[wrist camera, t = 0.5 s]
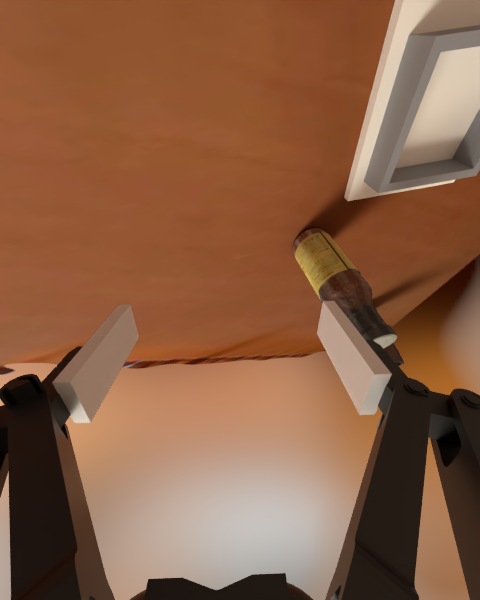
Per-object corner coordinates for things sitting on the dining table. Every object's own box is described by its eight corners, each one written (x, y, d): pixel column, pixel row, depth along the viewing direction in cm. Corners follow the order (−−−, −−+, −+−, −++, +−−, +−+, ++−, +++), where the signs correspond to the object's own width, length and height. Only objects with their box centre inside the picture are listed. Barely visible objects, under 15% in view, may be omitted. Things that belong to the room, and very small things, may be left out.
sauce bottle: (286, 257, 41) (337, 361, 28) (298, 224, 36) (365, 332, 23) (320, 257, 42) (384, 356, 29) (335, 225, 37) (418, 327, 25)
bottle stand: (396, -7, 20) (435, -13, 17) (566, -30, 21) (632, -40, 18) (344, 197, 34) (360, 213, 31) (447, 178, 35) (473, 193, 32)
